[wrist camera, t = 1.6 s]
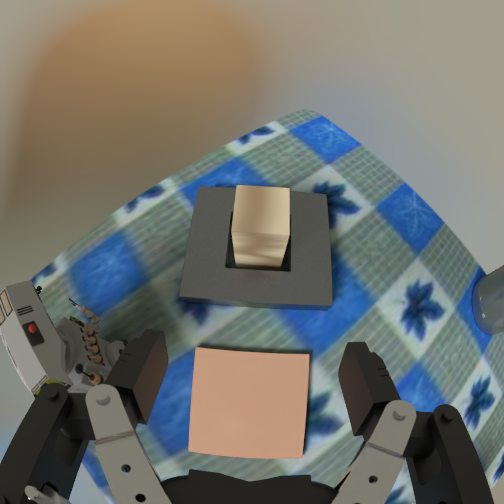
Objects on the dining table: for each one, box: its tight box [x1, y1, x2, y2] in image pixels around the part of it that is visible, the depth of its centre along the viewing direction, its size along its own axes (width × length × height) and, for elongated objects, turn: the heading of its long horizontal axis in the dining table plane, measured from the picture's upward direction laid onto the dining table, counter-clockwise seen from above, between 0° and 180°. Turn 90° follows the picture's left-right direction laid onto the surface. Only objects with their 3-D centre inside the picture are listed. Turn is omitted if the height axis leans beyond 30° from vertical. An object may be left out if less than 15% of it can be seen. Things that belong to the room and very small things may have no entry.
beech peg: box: [231, 185, 290, 271], centre depth 29 cm, size 5×5×9 cm
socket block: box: [179, 187, 333, 311], centre depth 32 cm, size 16×14×2 cm
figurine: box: [0, 280, 128, 398], centre depth 20 cm, size 9×12×15 cm
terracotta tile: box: [189, 347, 309, 459], centre depth 25 cm, size 12×12×1 cm
